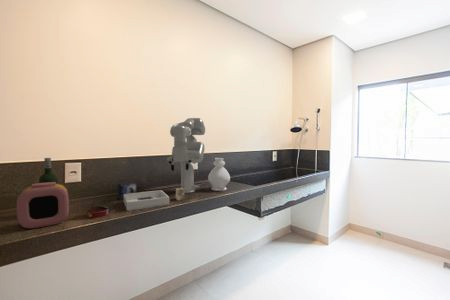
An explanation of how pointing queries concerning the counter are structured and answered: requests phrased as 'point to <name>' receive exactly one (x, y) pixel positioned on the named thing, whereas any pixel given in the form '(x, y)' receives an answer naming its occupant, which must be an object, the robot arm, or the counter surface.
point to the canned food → (97, 211)
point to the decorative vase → (219, 175)
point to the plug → (179, 193)
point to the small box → (126, 189)
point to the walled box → (145, 200)
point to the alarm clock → (42, 205)
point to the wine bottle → (48, 173)
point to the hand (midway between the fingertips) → (179, 170)
